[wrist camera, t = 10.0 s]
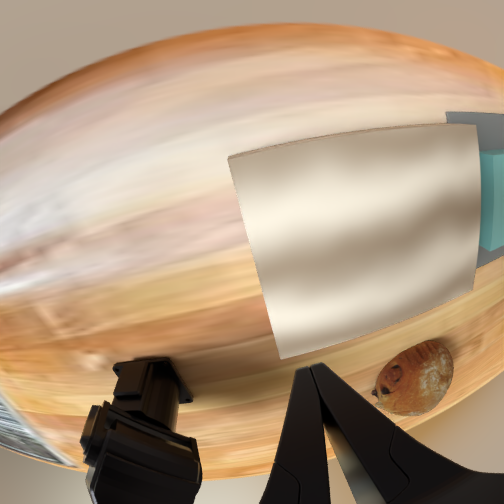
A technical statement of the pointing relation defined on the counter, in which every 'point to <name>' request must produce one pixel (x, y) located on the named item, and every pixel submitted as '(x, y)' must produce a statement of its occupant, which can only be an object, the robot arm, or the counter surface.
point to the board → (360, 228)
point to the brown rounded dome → (415, 380)
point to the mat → (489, 138)
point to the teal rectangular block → (492, 199)
